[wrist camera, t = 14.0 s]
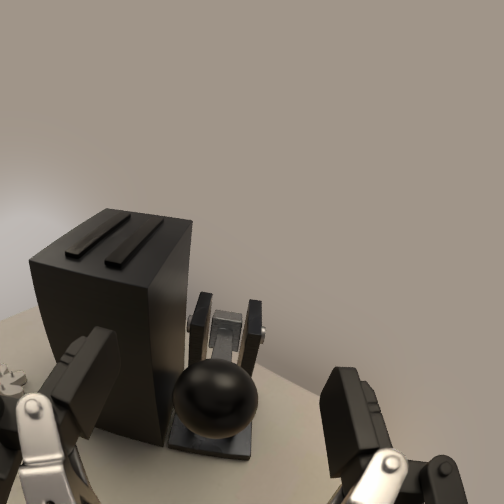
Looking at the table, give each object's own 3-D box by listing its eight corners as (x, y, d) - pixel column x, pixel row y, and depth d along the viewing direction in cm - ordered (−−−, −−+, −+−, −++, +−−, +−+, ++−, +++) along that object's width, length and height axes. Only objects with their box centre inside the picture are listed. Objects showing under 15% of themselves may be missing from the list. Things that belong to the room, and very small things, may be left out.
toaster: (163, 447, 22) (147, 282, 15) (82, 422, 22) (27, 255, 14) (184, 367, 33) (193, 216, 26) (118, 351, 33) (106, 204, 25)
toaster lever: (252, 459, 9) (269, 388, 9) (163, 445, 9) (166, 371, 9) (244, 348, 23) (251, 307, 23) (202, 341, 23) (208, 300, 23)
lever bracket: (249, 460, 23) (286, 366, 17) (168, 448, 22) (157, 346, 17) (251, 389, 32) (277, 286, 26) (185, 379, 32) (189, 272, 26)
